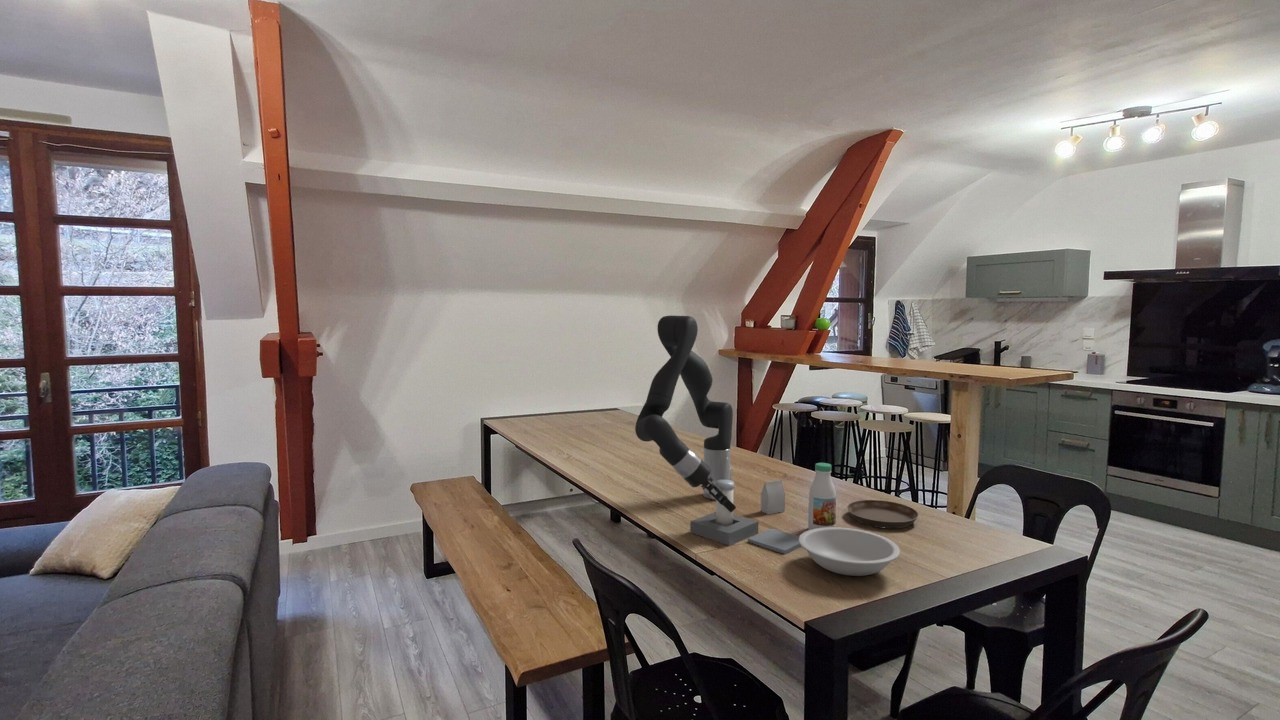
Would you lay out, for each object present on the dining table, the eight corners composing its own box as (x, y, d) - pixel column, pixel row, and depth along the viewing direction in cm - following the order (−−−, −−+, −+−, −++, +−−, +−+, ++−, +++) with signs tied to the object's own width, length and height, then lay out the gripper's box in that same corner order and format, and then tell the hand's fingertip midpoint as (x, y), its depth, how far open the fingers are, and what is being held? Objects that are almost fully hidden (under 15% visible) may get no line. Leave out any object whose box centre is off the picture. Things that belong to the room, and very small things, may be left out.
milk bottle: (803, 531, 180) (804, 464, 179) (815, 524, 186) (817, 459, 184) (827, 537, 175) (829, 468, 173) (839, 530, 180) (841, 464, 179)
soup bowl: (921, 583, 145) (922, 556, 145) (833, 596, 139) (834, 568, 138) (858, 546, 168) (859, 523, 168) (780, 556, 162) (781, 531, 161)
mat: (771, 531, 180) (771, 528, 180) (808, 542, 171) (808, 538, 171) (747, 542, 171) (747, 538, 171) (785, 554, 163) (785, 550, 163)
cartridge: (722, 522, 182) (723, 478, 181) (737, 527, 178) (738, 482, 177) (711, 527, 178) (711, 482, 177) (726, 532, 174) (726, 485, 173)
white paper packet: (784, 511, 198) (785, 481, 197) (768, 514, 195) (768, 483, 194) (777, 508, 201) (777, 478, 200) (760, 511, 198) (761, 481, 197)
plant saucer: (882, 535, 177) (882, 524, 177) (832, 514, 196) (833, 504, 196) (933, 526, 186) (933, 515, 185) (881, 506, 204) (881, 496, 204)
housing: (719, 521, 188) (720, 510, 188) (758, 533, 178) (758, 521, 178) (690, 532, 178) (690, 521, 178) (729, 545, 168) (729, 533, 168)
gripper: (705, 464, 169) (747, 505, 171) (694, 452, 183) (733, 490, 185) (686, 483, 168) (728, 524, 171) (677, 470, 183) (715, 508, 185)
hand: (730, 506), depth 178 cm, fingers closed on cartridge, 5 cm apart
